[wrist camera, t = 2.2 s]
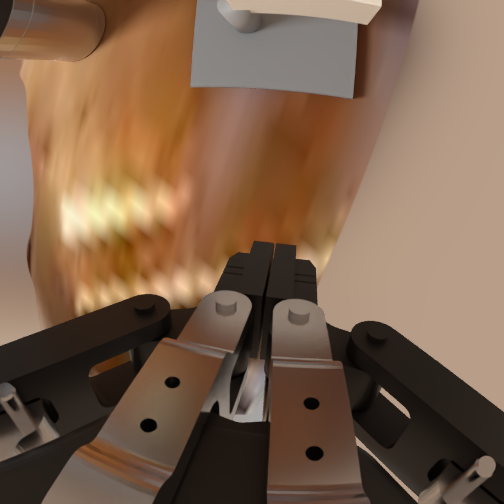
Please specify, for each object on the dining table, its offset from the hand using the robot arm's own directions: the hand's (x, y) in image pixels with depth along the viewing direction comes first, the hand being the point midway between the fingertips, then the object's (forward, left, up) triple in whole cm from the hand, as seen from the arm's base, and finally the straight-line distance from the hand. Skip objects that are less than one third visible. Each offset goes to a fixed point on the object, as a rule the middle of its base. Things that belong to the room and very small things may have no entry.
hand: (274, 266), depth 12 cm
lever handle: (-1, +16, -25) cm, 30 cm away
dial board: (-3, +17, -27) cm, 32 cm away
